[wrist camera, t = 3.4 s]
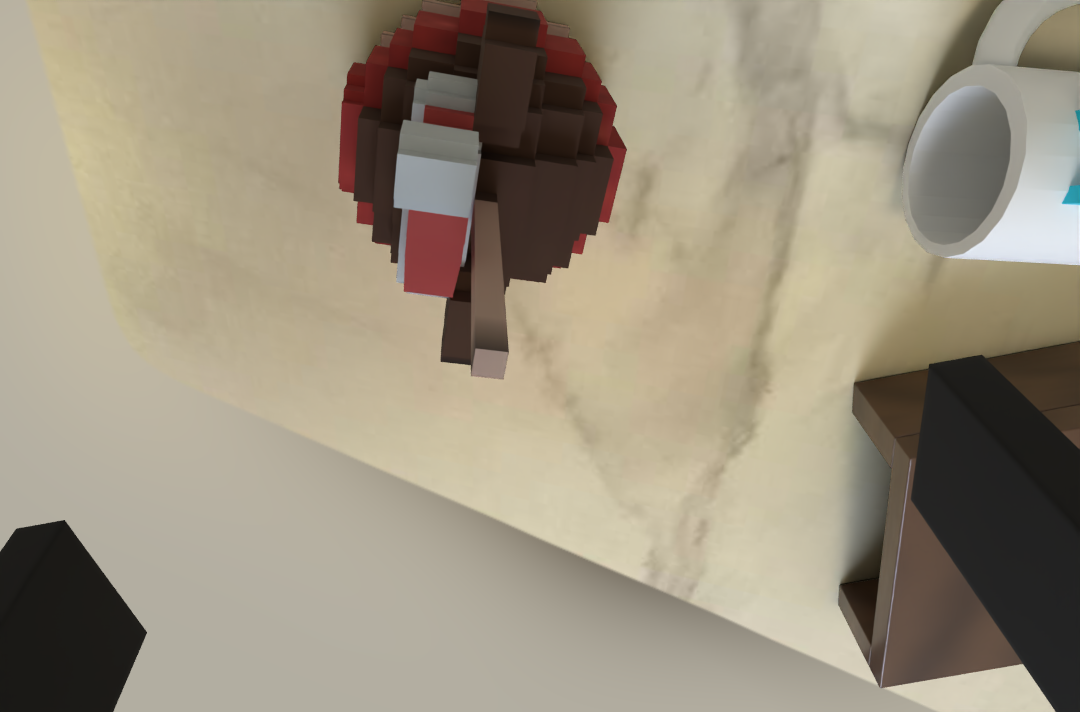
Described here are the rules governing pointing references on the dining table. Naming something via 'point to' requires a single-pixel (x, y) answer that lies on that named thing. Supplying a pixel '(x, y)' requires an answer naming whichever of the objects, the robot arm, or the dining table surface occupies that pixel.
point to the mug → (999, 153)
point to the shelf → (913, 549)
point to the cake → (478, 159)
